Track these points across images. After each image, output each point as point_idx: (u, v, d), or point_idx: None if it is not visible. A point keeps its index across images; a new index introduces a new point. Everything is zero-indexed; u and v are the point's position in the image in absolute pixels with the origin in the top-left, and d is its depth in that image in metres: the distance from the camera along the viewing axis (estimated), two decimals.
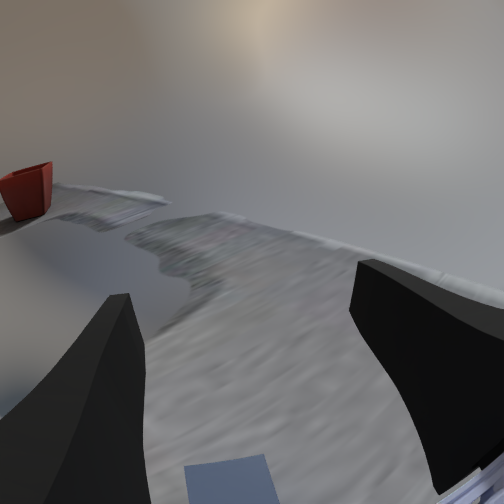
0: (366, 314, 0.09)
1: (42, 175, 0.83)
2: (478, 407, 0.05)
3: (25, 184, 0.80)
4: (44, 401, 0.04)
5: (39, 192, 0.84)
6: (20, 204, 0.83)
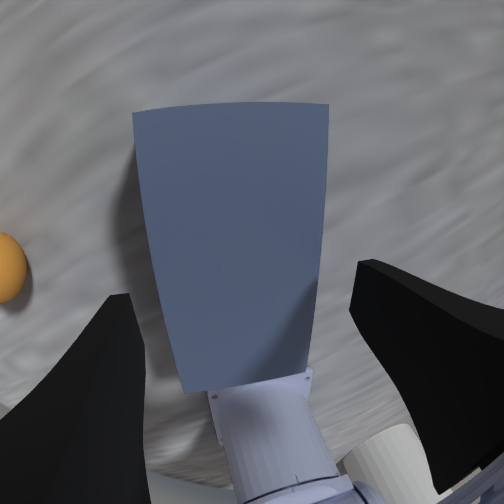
0: (366, 314, 0.09)
1: None
2: (478, 407, 0.05)
3: None
4: (45, 401, 0.04)
5: None
6: None
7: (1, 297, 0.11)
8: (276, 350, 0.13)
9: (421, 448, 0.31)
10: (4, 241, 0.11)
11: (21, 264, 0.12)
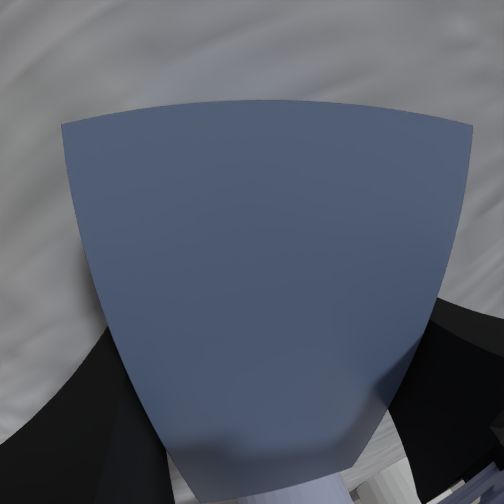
0: None
1: None
2: (461, 419, 0.05)
3: None
4: (74, 401, 0.04)
5: None
6: None
7: None
8: (324, 460, 0.08)
9: None
10: None
11: None
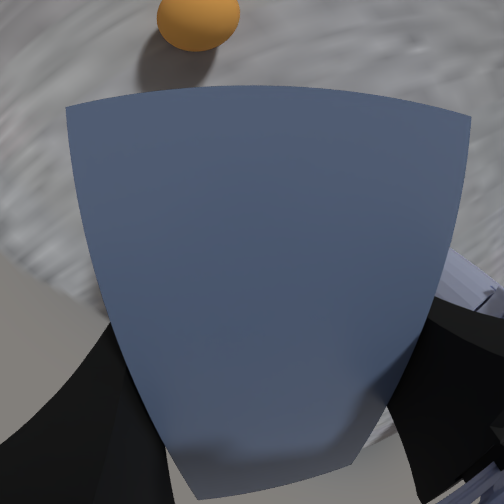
0: None
1: None
2: (461, 418, 0.05)
3: None
4: (73, 401, 0.04)
5: None
6: None
7: (217, 26, 0.10)
8: (323, 457, 0.08)
9: None
10: None
11: None
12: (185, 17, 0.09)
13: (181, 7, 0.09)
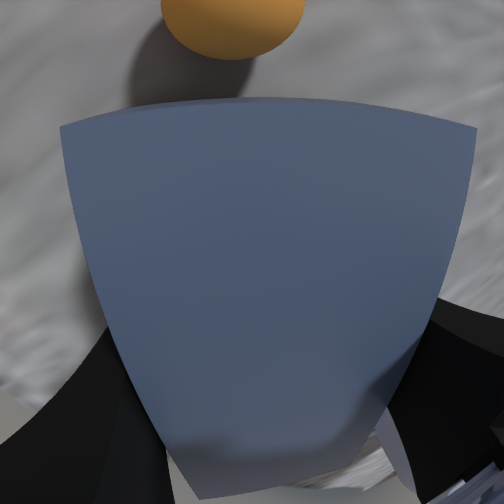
0: None
1: None
2: (461, 419, 0.05)
3: None
4: (74, 402, 0.04)
5: None
6: None
7: None
8: (322, 458, 0.08)
9: None
10: (283, 41, 0.07)
11: None
12: None
13: None
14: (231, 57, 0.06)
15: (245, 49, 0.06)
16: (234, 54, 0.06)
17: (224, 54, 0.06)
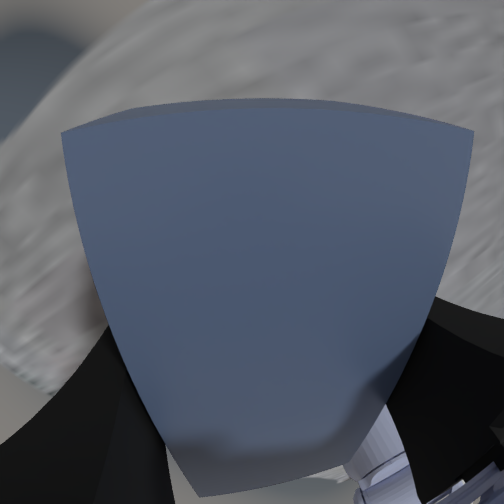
0: None
1: None
2: (461, 419, 0.05)
3: None
4: (74, 402, 0.04)
5: None
6: None
7: None
8: (321, 456, 0.08)
9: None
10: None
11: None
12: None
13: None
14: None
15: None
16: None
17: None
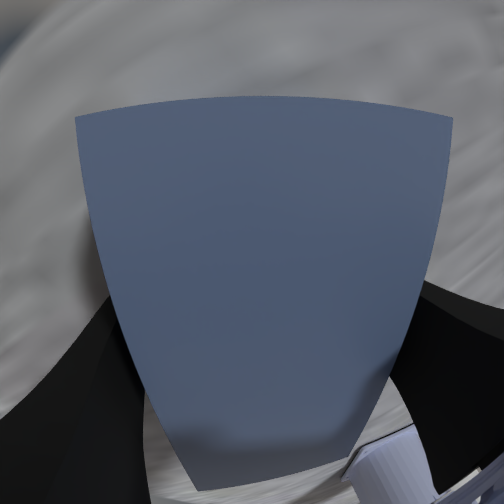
0: None
1: None
2: (478, 407, 0.05)
3: None
4: (45, 401, 0.04)
5: None
6: None
7: None
8: (319, 448, 0.08)
9: None
10: None
11: None
12: None
13: None
14: None
15: None
16: None
17: None
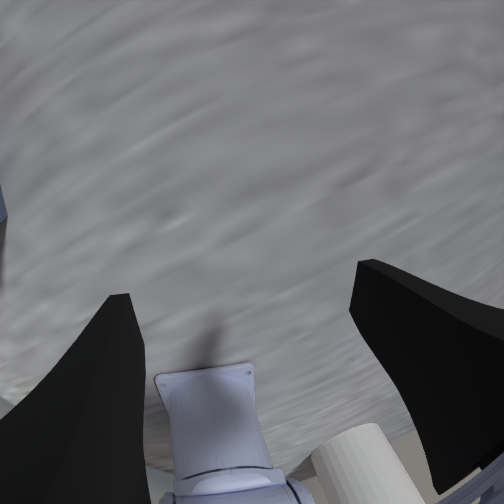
0: (366, 314, 0.09)
1: None
2: (478, 407, 0.05)
3: None
4: (45, 401, 0.04)
5: None
6: None
7: None
8: None
9: (388, 449, 0.33)
10: None
11: None
12: None
13: None
14: None
15: None
16: None
17: None
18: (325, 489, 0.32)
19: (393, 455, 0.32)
